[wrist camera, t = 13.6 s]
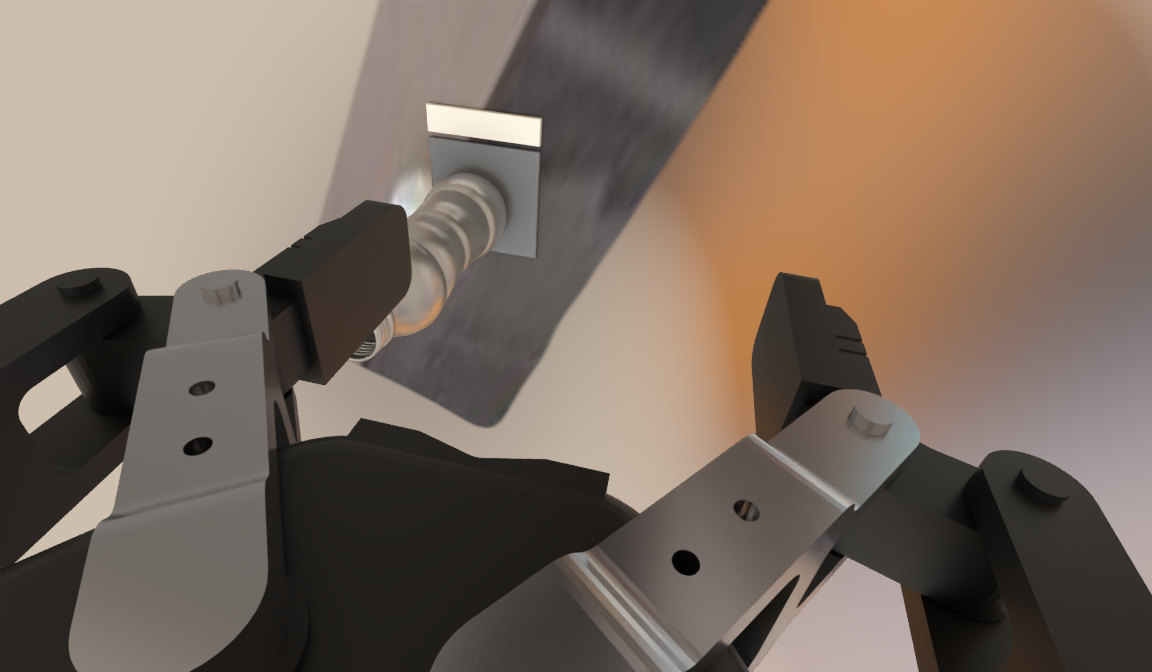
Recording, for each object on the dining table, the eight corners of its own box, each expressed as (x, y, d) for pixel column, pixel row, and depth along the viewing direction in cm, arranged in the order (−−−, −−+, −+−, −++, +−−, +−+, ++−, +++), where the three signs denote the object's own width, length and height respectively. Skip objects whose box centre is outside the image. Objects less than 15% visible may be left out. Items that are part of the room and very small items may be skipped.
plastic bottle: (432, 224, 49) (289, 356, 33) (449, 151, 45) (295, 259, 29) (501, 253, 49) (393, 400, 33) (524, 183, 45) (414, 310, 29)
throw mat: (429, 102, 44) (426, 104, 43) (542, 117, 43) (540, 119, 42) (438, 239, 50) (435, 242, 50) (536, 256, 49) (535, 258, 49)
